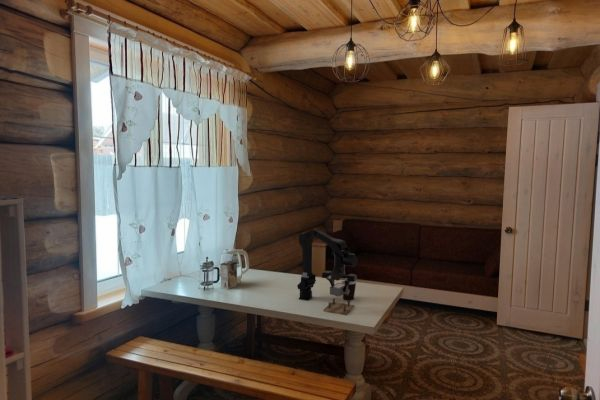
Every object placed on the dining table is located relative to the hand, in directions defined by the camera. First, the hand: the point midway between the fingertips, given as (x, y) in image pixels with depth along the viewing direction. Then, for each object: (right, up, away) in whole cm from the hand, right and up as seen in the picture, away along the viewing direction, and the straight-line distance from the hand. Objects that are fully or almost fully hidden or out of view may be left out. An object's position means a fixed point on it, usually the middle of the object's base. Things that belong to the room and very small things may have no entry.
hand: (339, 291), depth 225 cm
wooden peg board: (0, -10, +1) cm, 10 cm away
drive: (0, -1, 0) cm, 1 cm away
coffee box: (-68, -6, +40) cm, 79 cm away
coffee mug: (+6, -9, +19) cm, 22 cm away
